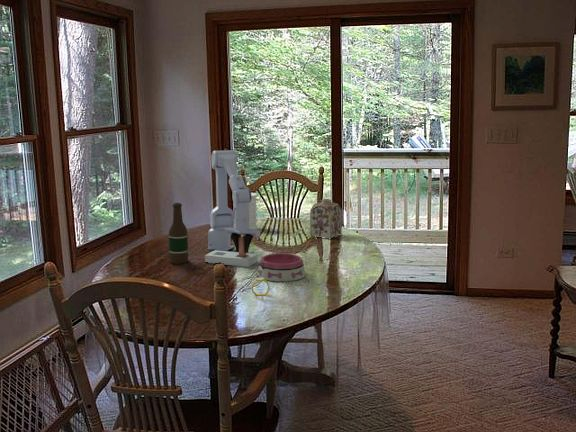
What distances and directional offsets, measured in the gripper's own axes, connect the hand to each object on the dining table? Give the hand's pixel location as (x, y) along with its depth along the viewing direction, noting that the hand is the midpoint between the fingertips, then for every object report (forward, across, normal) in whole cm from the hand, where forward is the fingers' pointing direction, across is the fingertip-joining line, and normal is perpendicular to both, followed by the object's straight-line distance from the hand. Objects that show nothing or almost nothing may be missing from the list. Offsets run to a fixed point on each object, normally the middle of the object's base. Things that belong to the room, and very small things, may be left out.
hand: (242, 252), depth 240 cm
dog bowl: (+5, +20, -10) cm, 24 cm away
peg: (+3, 0, 0) cm, 3 cm away
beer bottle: (+5, -25, -7) cm, 26 cm away
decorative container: (+5, -24, +60) cm, 65 cm away
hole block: (+5, -5, 0) cm, 7 cm away
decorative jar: (+5, +18, +59) cm, 62 cm away
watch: (+5, +22, -35) cm, 42 cm away
